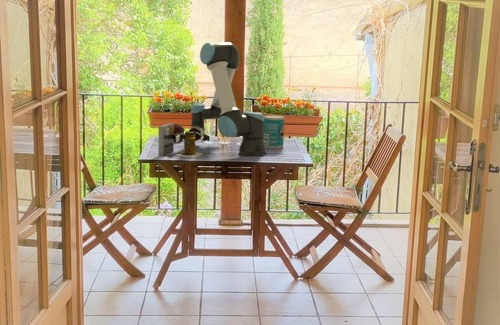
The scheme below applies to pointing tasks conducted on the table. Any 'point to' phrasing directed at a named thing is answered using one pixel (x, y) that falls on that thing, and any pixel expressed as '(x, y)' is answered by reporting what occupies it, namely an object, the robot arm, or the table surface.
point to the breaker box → (166, 139)
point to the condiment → (189, 144)
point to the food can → (273, 131)
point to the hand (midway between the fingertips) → (189, 140)
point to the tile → (190, 155)
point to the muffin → (178, 130)
